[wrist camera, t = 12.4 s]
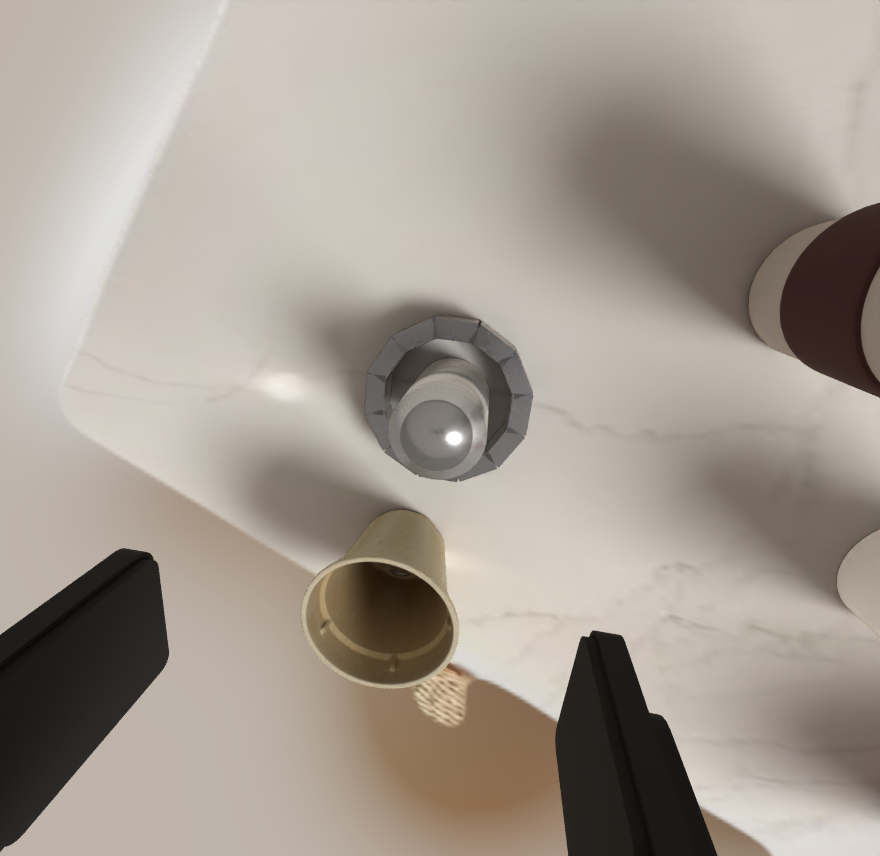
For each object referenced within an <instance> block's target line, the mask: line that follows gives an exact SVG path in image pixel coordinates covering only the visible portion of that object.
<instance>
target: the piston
mask: <svg viewBox="0 0 880 856" xmlns="http://www.w3.org/2000/svg"><path fill="white" fill-rule="evenodd" d="M488 411H489V387H488V384H487V381H486V379H485V377H484V375H483V374H482V372H481V371H480V370H479V369H478V368H477V367H476V366H474V365H473V364H471V363H470V362H468V361H465V360H462V359H458V358H445V359H441V360H438V361H435V362H433V363H432V364H430V365H429V366H428V367H427V368H425V369H424V371H423V372H422V373H421V374H420V376H419V377H418V378H417V379H416V381H415V382H414V383H413V385H412V386H411V387H410V388H409V390H408V391H407V392H406V394H405V395H404V396H403V398H402V399H401V400H400V401H399V403H398V404H397V405H396V407H395V409H394V410H393V413H392V415H391V418H390V421H389V440H390V444H391V447H392V449H393V451H394V453H395V455H396V457H397V458H398V459H399V461H400V462H401V463H402V464H403V465H404V466H405V467H406V468H408V469H409V470H410V471H412V472H414V473H415V474H418V475H420V476H422V477H425V478H430V479H437V480H442V479H451V478H454V477H457V476H460V475H462V474H464V473H466V472H467V471H469V470H470V469H471V468H472V467H473V466H474V465H475V464H476V463H477V462H478V461H479V459H480V458H481V456H482V454H483V452H484V449H485V447H486V442H487V429H488Z"/></svg>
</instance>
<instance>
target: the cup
mask: <svg viewBox="0 0 880 856" xmlns="http://www.w3.org/2000/svg"><path fill="white" fill-rule="evenodd" d="M837 589H838V593H839V596H840V598H841V600H842V601H843V603H844V604H845V605H846V606H847V607H848V608H849V609H850V610H851V611H852V612H853V613H854V614H855V615H856V616H857V617H858V618H859V619H860V620H861V621H862V622H863V623H864V624H866V625H867V626H868V627H869V628H870V629H871V630H872V631H873V632H874V633H875V634H876V635H877V636H878V637H879V638H880V529H879V530H877V531H875V532H873V533H871V534H870V535H868V536H866V537H865V538H864V539H862V540H861V541H860V542H858V543H857V544H856V545H855V546H854V547H853V548H852V549H851V550H850V551H849V552H848V554H847V555H846V557H845V558H844V560H843V561H842V563H841V566H840V568H839V571H838V575H837Z"/></svg>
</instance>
